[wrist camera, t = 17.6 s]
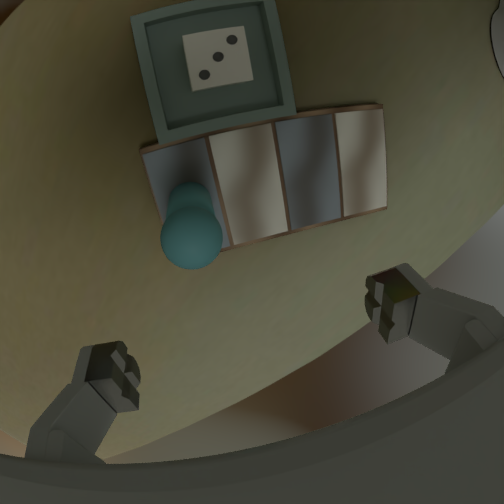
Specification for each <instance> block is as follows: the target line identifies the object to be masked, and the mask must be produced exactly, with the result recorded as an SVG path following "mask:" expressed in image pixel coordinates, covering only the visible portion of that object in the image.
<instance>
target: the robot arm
mask: <svg viewBox="0 0 504 504" xmlns="http://www.w3.org/2000/svg"><path fill="white" fill-rule="evenodd" d="M491 35H492V43H493V48H494V52H495V56H496V60H497V63H498V66H499V68H500V71H501V73H502V75H503V77H504V0H500V5H499V8H498V10H497V11H495V13H494V15H493V17H492V23H491ZM365 286H366V288H367V289H368V290H369V291H368V292H367V294H366V295H365V308H366V312H367V314H368V317H369V318H370V320H371V321H372V322H373V323H375V324H378V325H379V329H378V332H379V333H380V334H381V336H382V337H383V339H384V340H385V342H386V343H387V344H390V343H393V342H395V341H398V340H400V339H402V338H405V337H408V336H409V338H411V339H413V340H414V341H416V342H418V343H420V344H422V345H424V346H425V347H427V348H429V349H431V350H433V351H435V352H436V353H438V354H440V355H442V356H444V357H446V358H447V359H449V360H450V362H449V364H448V367H447V369H446V372H445V374H444V375H443V376H441V377H439V378H437V379H435V380H434V381H432V382H430V383H428V384H426V385H424V386H422V387H420V388H418V389H416V390H414V391H412V392H410V393H408V394H406V395H404V396H402V397H400V398H398V399H395V400H393V401H391V402H389V403H387V404H384V405H382V406H380V407H377V408H375V409H373V410H371V411H368V412H366V413H363V414H361V415H358V416H355V417H353V418H350V419H347V420H345V421H342V422H339V423H337V424H334V425H331V426H328V427H325V428H322V429H319V430H316V431H313V432H309V433H306V434H303V435H299V436H296V437H293V438H289V439H286V440H282V441H278V442H274V443H270V444H266V445H262V446H258V447H253V448H249V449H244V450H240V451H234V452H229V453H223V454H218V455H212V456H206V457H199V458H191V459H183V460H174V461H164V462H151V463H133V464H106V463H105V462H104V461H103V460H101V459H100V458H99V457H97V456H96V455H94V454H95V452H96V451H97V449H98V447H99V445H100V443H101V442H102V440H103V438H104V436H105V435H106V433H107V431H108V429H109V428H110V426H111V424H112V422H113V421H114V419H115V417H116V416H117V413H121V412H128V411H135V410H139V395H140V394H139V392H138V391H137V390H136V388H137V387H138V385H139V384H140V379H141V375H140V370H139V366H138V364H137V362H136V360H135V359H134V357H133V356H131V355H129V354H127V349H128V348H127V347H126V345H125V344H124V342H123V341H115V342H108V343H102V344H96V345H92V346H85V347H83V348H81V349H80V353H79V356H78V360H77V363H76V367H75V371H74V375H73V379H72V383H71V384H67V386H66V387H65V388H64V389H63V390H62V391H61V393H60V394H59V395H58V396H57V397H56V398H55V399H54V401H53V402H52V403H51V404H50V405H49V407H48V408H47V409H46V410H45V411H44V412H43V414H42V415H41V416H40V417H39V418H38V420H37V421H36V422H35V423H34V424H33V426H32V427H31V429H30V433H29V438H28V443H27V448H26V453H25V458H22V457H15V456H10V455H5V454H0V504H504V317H503V316H502V315H501V314H500V313H499V312H498V311H497V310H496V309H495V308H494V307H493V306H491V305H488V304H485V303H482V302H479V301H476V300H473V299H470V298H467V297H464V296H461V295H458V294H455V293H452V292H449V291H446V290H443V289H439V288H435V289H433V288H432V287H431V286H430V285H429V284H428V283H427V282H426V281H425V280H424V279H423V278H422V277H421V276H420V275H419V274H418V273H417V272H416V271H415V270H414V269H413V268H412V267H411V266H410V265H409V264H407V263H403V264H400V265H397V266H395V267H393V268H390V269H387V270H384V271H381V272H378V273H375V274H372V275H369V276H367V278H366V284H365Z"/></svg>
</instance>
